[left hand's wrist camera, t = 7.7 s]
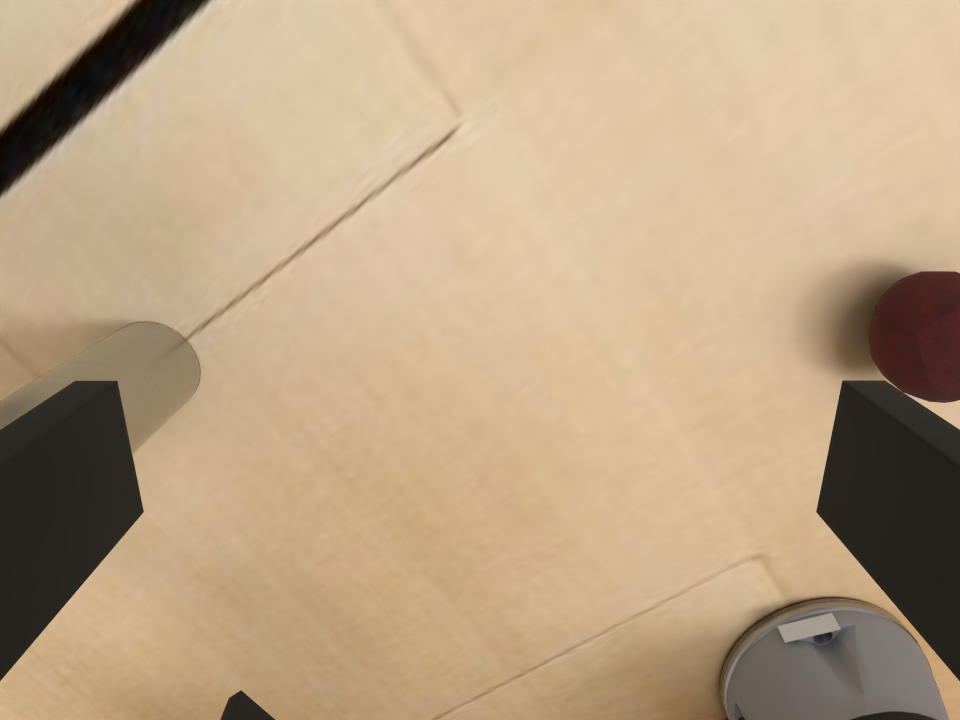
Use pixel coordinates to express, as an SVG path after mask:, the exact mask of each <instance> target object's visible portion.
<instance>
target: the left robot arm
mask: <svg viewBox="0 0 960 720" xmlns="http://www.w3.org/2000/svg"><path fill="white" fill-rule="evenodd" d="M143 512H144V511H143V506H142V501H141V496H140V491H139V486H138V481H137V476H136V471H135V466H134V461H133V456H132V451H131V446H130V441H129V436H128V431H127V426H126V421H125V416H124V411H123V406H122V401H121V396H120V391H119V386H118V381H74V382H72V383H71V384H69V385H68V386H66V387H65V388H63V389H62V390H60V391H59V392H57V393H56V394H54V395H53V396H51V397H50V398H48V399H46V400H45V401H43V402H42V403H40V404H39V405H37V406H36V407H34V408H33V409H31V410H30V411H28V412H27V413H25V414H24V415H22V416H21V417H19V418H17V419H16V420H14V421H13V422H11V423H10V424H8V425H7V426H5V427H4V428H2V429H1V430H0V681H1V680H2V678H3V677H4V676H5V675H6V674H7V672H8V671H9V670H10V669H11V668H12V667H13V665H14V664H15V663H16V662H17V661H18V659H19V658H20V657H21V656H22V655H23V654H24V652H25V651H26V650H27V649H28V648H29V647H30V645H31V644H32V643H33V642H34V641H35V639H36V638H37V637H38V636H39V635H40V634H41V632H42V631H43V630H44V629H45V628H46V626H47V625H48V624H49V623H50V622H51V621H52V619H53V618H54V617H55V616H56V615H57V614H58V612H59V611H60V610H61V609H62V608H63V606H64V605H65V604H66V603H67V602H68V601H69V599H70V598H71V597H72V596H73V595H74V593H75V592H76V591H77V590H78V589H79V588H80V586H81V585H82V584H83V583H84V582H85V580H86V579H87V578H88V577H89V576H90V575H91V573H92V572H93V571H94V570H95V569H96V568H97V566H98V565H99V564H100V563H101V562H102V560H103V559H104V558H105V557H106V556H107V555H108V553H109V552H110V551H111V550H112V549H113V547H114V546H115V545H116V544H117V543H118V542H119V540H120V539H121V538H122V537H123V536H124V535H125V533H126V532H127V531H128V530H129V529H130V527H131V526H132V525H133V524H134V523H135V522H136V520H137V519H138V518H139V517H140V516H141V514H142V513H143ZM816 512H817V513H818V514H819V516H820V517H821V518H822V519H823V520H824V522H825V523H826V524H827V525H828V526H829V527H830V529H831V530H832V531H833V532H834V533H835V535H836V536H837V537H838V538H839V539H840V540H841V542H842V543H843V544H844V545H845V546H846V547H847V549H848V550H849V551H850V552H851V553H852V555H853V556H854V557H855V558H856V559H857V560H858V562H859V563H860V564H861V565H862V566H863V568H864V569H865V570H866V571H867V572H868V573H869V575H870V576H871V577H872V578H873V579H874V580H875V582H876V583H877V584H878V585H879V586H880V588H881V589H882V590H883V591H884V592H885V593H886V595H887V596H888V597H889V598H890V599H891V601H892V602H893V603H894V604H895V605H896V606H897V608H898V609H899V610H900V611H901V612H902V614H903V615H904V616H905V617H906V618H907V619H908V621H909V622H910V623H911V624H912V625H913V626H914V628H915V629H916V630H917V631H918V632H919V634H920V635H921V636H922V637H923V638H924V639H925V641H926V642H927V643H928V644H929V645H930V647H931V648H932V649H933V650H934V651H935V652H936V654H937V655H938V656H939V657H940V658H941V659H942V661H943V662H944V663H945V664H946V665H947V667H948V668H949V669H950V670H951V671H952V672H953V674H954V675H955V676H956V677H957V678H958V680H959V681H960V430H959V429H958V428H956V427H955V426H953V425H952V424H950V423H949V422H947V421H946V420H944V419H943V418H941V417H939V416H938V415H936V414H935V413H933V412H932V411H930V410H929V409H927V408H926V407H924V406H923V405H921V404H920V403H918V402H917V401H915V400H914V399H912V398H910V397H909V396H907V395H906V394H904V393H903V392H901V391H900V390H898V389H897V388H895V387H894V386H892V385H891V384H889V383H888V382H886V381H842V386H841V391H840V396H839V401H838V406H837V411H836V416H835V421H834V426H833V431H832V436H831V441H830V446H829V451H828V456H827V461H826V466H825V471H824V476H823V481H822V486H821V491H820V496H819V501H818V506H817V511H816Z"/></svg>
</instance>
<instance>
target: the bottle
mask: <svg viewBox="0 0 960 720" xmlns="http://www.w3.org/2000/svg"><path fill="white" fill-rule="evenodd" d="M199 380H200V365H199V361H198V358H197V355H196V353H195V351H194V350H193V348H192V347H191V345H190V344H189V343H188V341H187V340H186V339H185V338H184V337H182V336H181V335H180V334H179V333H177V332H176V331H174V330H173V329H171V328H169V327H166V326H164V325H161V324H157V323H152V322H138V323H133V324H130V325H127V326H126V327H124V328H122V329H120V330H118V331H117V332H115V333H113V334H112V335H110V336H108V337H107V338H105V339H103V340H102V341H100V342H98V343H97V344H95V345H93V346H91V347H90V348H88V349H86V350H85V351H83V352H81V353H80V354H78V355H76V356H75V357H73V358H71V359H70V360H68V361H66V362H65V363H63V364H61V365H60V366H58V367H56V368H55V369H53V370H51V371H49V372H48V373H46V374H44V375H43V376H41V377H39V378H38V379H36V380H34V381H33V382H31V383H29V384H28V385H26V386H24V387H23V388H21V389H19V390H18V391H16V392H14V393H13V394H11V395H9V396H7V397H6V398H4V399H2V400H1V401H0V430H1V429H2V428H4V427H5V426H7V425H8V424H10V423H11V422H13V421H14V420H16V419H17V418H19V417H21V416H22V415H24V414H25V413H27V412H28V411H30V410H31V409H33V408H34V407H36V406H37V405H39V404H40V403H42V402H43V401H45V400H46V399H48V398H50V397H51V396H53V395H54V394H56V393H57V392H59V391H60V390H62V389H63V388H65V387H66V386H68V385H69V384H71V383H72V382H74V381H118V386H119V391H120V396H121V401H122V406H123V411H124V416H125V421H126V426H127V431H128V436H129V441H130V446H131V451H132V454H133V453H134V452H135V451H136V450H137V449H138V448H140V447H141V446H142V445H143V444H144V443H145V442H146V441H147V440H148V439H149V438H150V437H151V436H152V435H153V434H154V433H155V432H156V431H157V430H158V429H159V428H160V427H161V426H162V425H163V424H164V423H165V422H166V421H167V420H168V419H169V418H170V417H171V416H172V415H173V414H174V413H175V412H176V411H177V410H178V409H179V408H181V407H182V406H183V405H184V404H185V403H186V402H187V401H188V400H189V399H190V398H191V397H192V395H193V394H194V393H195V391H196V389H197V387H198V384H199Z"/></svg>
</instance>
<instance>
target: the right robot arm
mask: <svg viewBox="0 0 960 720" xmlns="http://www.w3.org/2000/svg"><path fill="white" fill-rule="evenodd" d="M720 695H721V700H722V703H723V706H724V709H725V711H726V714H727V716H728V719H729V720H949V717H948V714H947V712H946V709H945V706H944V703H943V701H942V698H941V695H940V692H939V689H938V687H937V684H936V681H935V679H934V676H933V674H932V670H931V667H930V664H929V662H928V659H927V658H926V656H925V654H924V652H923V651H922V649H921V647H920V646H919V644H918V642H917V641H916V640H915V638H914V637H913V636H912V635H911V634H910V632H909V631H908V630H907V629H906V628H905V626H904V625H903V624H902V623H901V622H900V621H899V620H898V619H897V618H896V617H894V616H893V615H892V614H890V613H889V612H887V611H885V610H883V609H882V608H879V607H877V606H875V605H872V604H869V603H866V602H862V601H858V600H852V599H840V598H830V599H818V600H812V601H807V602H803V603H799V604H795V605H793V606H790V607H787V608H784V609H782V610H780V611H778V612H776V613H774V614H772V615H770V616H768V617H766V618H765V619H763V620H762V621H760V622H759V623H757V624H756V625H755V626H753V627H752V628H751V629H750V630H749V631H748V632H746V633H745V634H744V635H743V636H742V638H741V639H740V640H739V641H738V642H737V643H736V645H735V646H734V647H733V649H732V650H731V652H730V654H729V655H728V657H727V659H726V661H725V664H724V667H723V669H722V673H721V679H720ZM221 720H275V719H274V718H272V717H271V716H270V715H269V714H268V713H267V712H266V711H264V710H263V709H262V708H261V707H260V706H259V705H257V704H256V703H255V702H254V701H253V700H252V699H250V698H249V697H248V696H247V695H246V694H245V693H244V692H242V691H239V692H238V693H236V694H235V695H233V696H232V697H230V698H229V700H228V702H227V705H226V707H225V710H224V712H223V715H222V717H221Z"/></svg>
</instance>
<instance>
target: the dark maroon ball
mask: <svg viewBox="0 0 960 720" xmlns="http://www.w3.org/2000/svg"><path fill="white" fill-rule="evenodd" d="M869 342H870V353H871V356H872V358H873V360H874V362H875V364H876V365H877V367H878V368H879V370H880V371H881V373H882V374H883V376H884V377H886V378H887V379H888V380H889V381H890V382H891V383H892V384H894V385H895V386H896V387H897V388H898V389H900V390H901V391H902V392H904V393H907V394H909V395H912V396H915V397H917V398H920V399H923V400H926V401H929V402H942V403H946V402H953V401H958V400H960V273H957V272H919V273H916V274H914V275H911V276H908V277H905V278H902V279H901V280H899V281H898V282H897V283H895V284H894V285H893V286H892V287H891V288H889V289H888V290H887V291H886V292H885V293H884V294H883V296H882V298H881V299H880V301H879V302H878V304H877V305H876V308H875V311H874V315H873V319H872V323H871V326H870V330H869Z"/></svg>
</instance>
